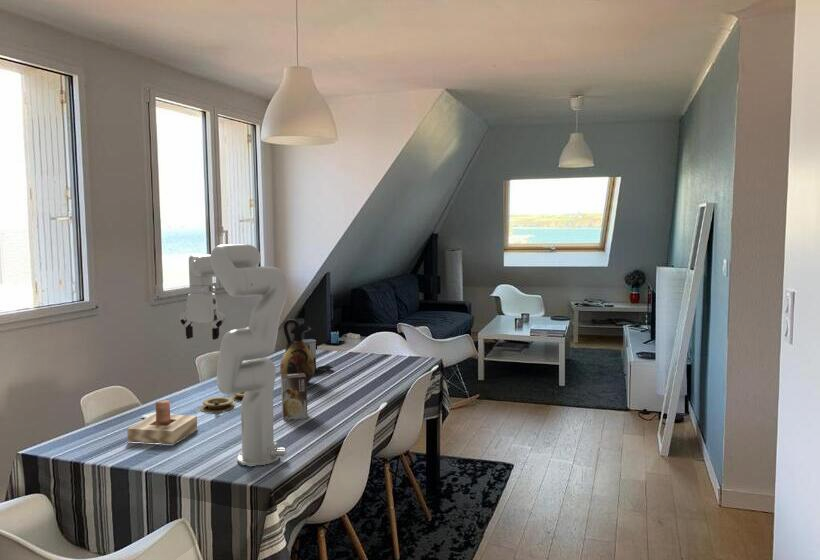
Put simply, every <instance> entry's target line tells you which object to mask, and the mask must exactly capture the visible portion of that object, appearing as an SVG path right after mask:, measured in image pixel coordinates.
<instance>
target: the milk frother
mask: <svg viewBox="0 0 820 560" xmlns="http://www.w3.org/2000/svg"><path fill="white" fill-rule="evenodd" d="M302 340H303V342H304V343H305V345H306V346H307V348H308V349H309V351H310V353H311V354H312V357H313V360H314V364H315V371H317V370H325V371H330V369H333V366H332V365H329V364H325V365H321V366H317V348H316V347H317V345H316V344H317V340H316V339H313V338H309V339H308V338H307V339H304V338H302Z"/></svg>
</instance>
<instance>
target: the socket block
mask: <svg viewBox="0 0 820 560" xmlns="http://www.w3.org/2000/svg"><path fill="white" fill-rule="evenodd" d="M170 422H171V424H169V425H167V426H162V425H156V414H154V415H152V416H150V417H148V418H146V419H142V420H141V421H139V422H137V423H135V424H134V425H132V426H130V427H128V428H127V433H126V434H127V443H128V442H144V443H161V444H174V443H176V442H177V441H179V440H181V439H183V438H184V437H186V436H187V437H189V436H190V435H192V434H193V433H195V432H196V431H198V416H197V415H185V414H175V415H170ZM195 430H196V431H195ZM194 431H195V432H194ZM192 432H193V433H192ZM191 433H192V434H191ZM189 434H190V435H189ZM188 435H189V436H188ZM187 437H186V438H187ZM184 439H185V438H184ZM184 439H183V440H184ZM181 441H182V440H181Z"/></svg>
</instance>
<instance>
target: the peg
mask: <svg viewBox="0 0 820 560" xmlns="http://www.w3.org/2000/svg"><path fill="white" fill-rule="evenodd" d="M155 412H156V425H162V426H167V425H169V424H171V422H170V413H171V402H170V400H167V399H163V400H157V401H155Z"/></svg>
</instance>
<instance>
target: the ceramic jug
mask: <svg viewBox="0 0 820 560" xmlns="http://www.w3.org/2000/svg"><path fill="white" fill-rule="evenodd" d="M290 324H293V325H294V327H293V328H292V329H291V330H290V333H291V334H293V338H291V336H290V333H289V328H288V326H289V325H290ZM311 330H312V328H311V327H310V326H309V324H308V323H306V322H301V324H299V322H298V320H296V319H294V318H288V319H287V320H285V321H284V323H283V333H284V336H285V339H286V342H287V344H286V346H285V352H284V354H283V356H282V358H281V359H280V360H281V361H280V366H279V371H280V372H279V373H280V375H281V374H297V373H304V374H305V375H306V384H307V387H308V386H309V382H310V381H311V379H312V378H313V377H314V375H315V371H316V370H315V364H314V360H313V357H312V354H311V353H310V351H309V349H308V348H307V346H306V345H305V343H304V342H303V336H302V335H303V334H304V333H306V332H310V331H311ZM291 339H292V340H291Z"/></svg>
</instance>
